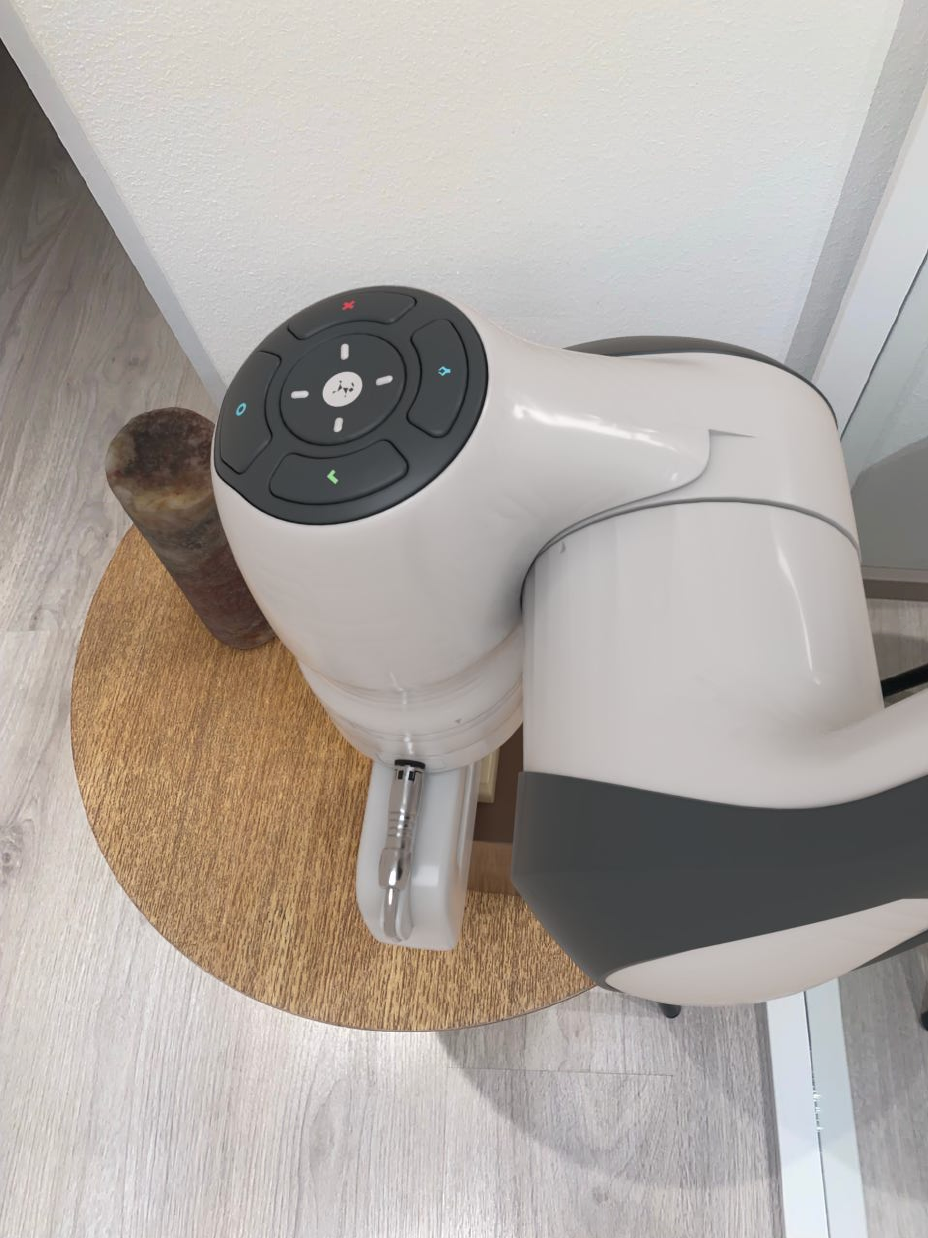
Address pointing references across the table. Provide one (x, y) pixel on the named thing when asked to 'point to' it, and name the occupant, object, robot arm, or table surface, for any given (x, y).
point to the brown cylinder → (184, 518)
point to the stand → (497, 825)
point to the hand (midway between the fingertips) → (457, 755)
